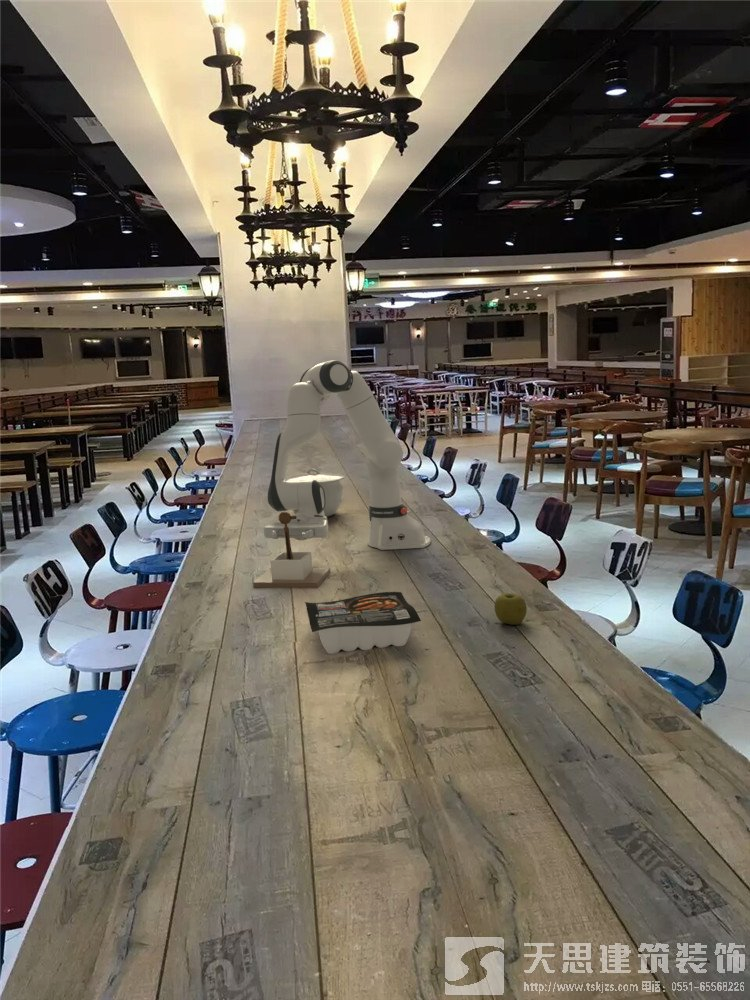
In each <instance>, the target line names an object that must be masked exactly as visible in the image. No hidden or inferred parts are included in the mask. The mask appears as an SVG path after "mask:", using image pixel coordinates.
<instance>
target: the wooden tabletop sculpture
mask: <svg viewBox="0 0 750 1000" xmlns="http://www.w3.org/2000/svg"><path fill="white" fill-rule="evenodd" d="M291 519H296V516H293V515H291V513H290V512H288V511H280V513H279V515H278V521H279V522H281V523H282V524H284V526H285V527H284V533H285V538H284V542H285V550H286V551H285V552H286V553H287V560H294V559H293V555H292V552H293V550H292V546H291V538H290V537H289V529H288V528H289V527H287V524H288V523H289V522H290V521H291Z"/></svg>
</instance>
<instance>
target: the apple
mask: <svg viewBox="0 0 750 1000" xmlns="http://www.w3.org/2000/svg"><path fill="white" fill-rule="evenodd" d="M527 607H528V606H527V603H526V600H525V599H524V598H523V597H522V596H520V595H519V594H518V593H517V594H516V593H503V594H501V595H499V596H497V598H496V599H495V601H494V612H495V615H496V617H497V619H498V620H499V621H500V622H501V623H503V624H507V625H512V626H517V625H520V624H521V623H522V622H523V621H524V620H525V618H526V615H527V611H528V609H527Z"/></svg>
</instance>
